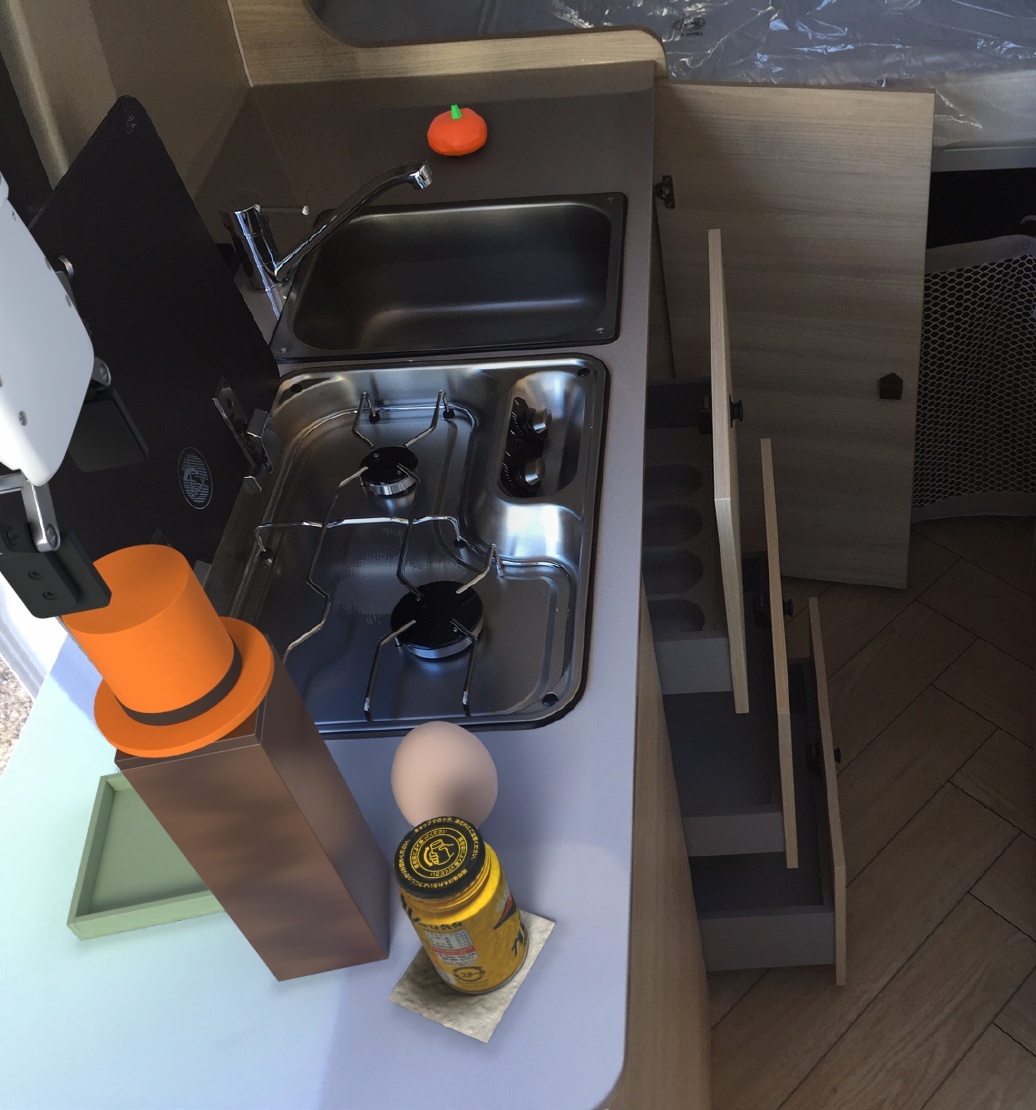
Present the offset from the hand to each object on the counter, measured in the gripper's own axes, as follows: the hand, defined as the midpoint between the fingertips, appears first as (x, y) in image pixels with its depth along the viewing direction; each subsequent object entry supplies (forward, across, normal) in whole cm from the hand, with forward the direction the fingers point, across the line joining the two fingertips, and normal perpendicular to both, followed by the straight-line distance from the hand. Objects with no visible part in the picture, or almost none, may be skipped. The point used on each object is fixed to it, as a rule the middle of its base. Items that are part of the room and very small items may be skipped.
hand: (97, 531), depth 55 cm
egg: (+36, -6, +8) cm, 37 cm away
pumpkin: (+36, -110, +10) cm, 116 cm away
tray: (+36, -8, -12) cm, 38 cm away
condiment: (+36, +5, +8) cm, 37 cm away
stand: (+36, 0, 0) cm, 36 cm away
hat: (+12, -1, -1) cm, 12 cm away
